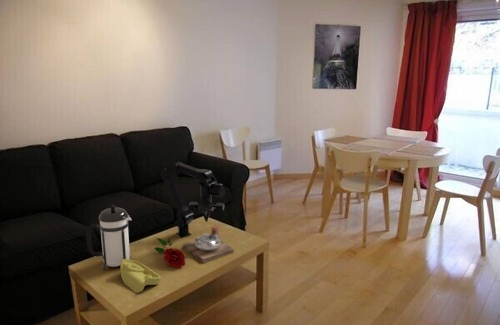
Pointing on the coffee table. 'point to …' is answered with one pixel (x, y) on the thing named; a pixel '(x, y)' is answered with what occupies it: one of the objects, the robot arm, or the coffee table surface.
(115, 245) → the coffee press
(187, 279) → the coffee table surface
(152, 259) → the coffee table surface
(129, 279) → the plastic component
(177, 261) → the flower
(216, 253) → the square disc baseplate
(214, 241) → the round disc with cubes
